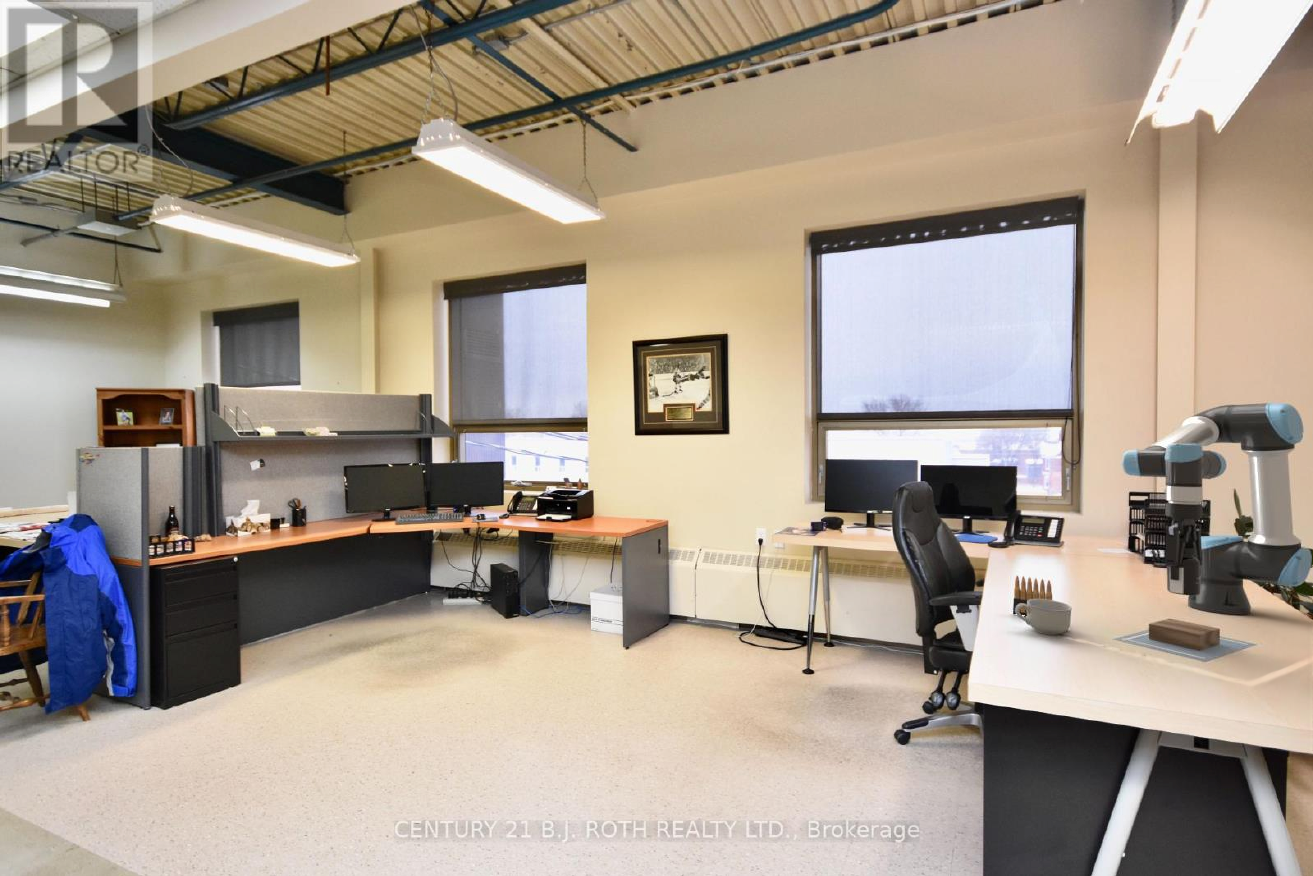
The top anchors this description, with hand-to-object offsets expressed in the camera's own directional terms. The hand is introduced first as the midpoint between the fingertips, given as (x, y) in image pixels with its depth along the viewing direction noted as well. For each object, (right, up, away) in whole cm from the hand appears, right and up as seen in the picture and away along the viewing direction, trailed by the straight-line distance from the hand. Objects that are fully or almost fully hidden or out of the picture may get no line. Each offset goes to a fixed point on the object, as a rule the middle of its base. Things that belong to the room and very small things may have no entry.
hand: (1183, 590), depth 170 cm
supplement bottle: (0, -1, 0) cm, 1 cm away
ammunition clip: (-24, -15, +27) cm, 39 cm away
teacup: (-30, -14, +12) cm, 35 cm away
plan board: (0, -14, 0) cm, 14 cm away
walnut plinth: (0, -13, 0) cm, 13 cm away
